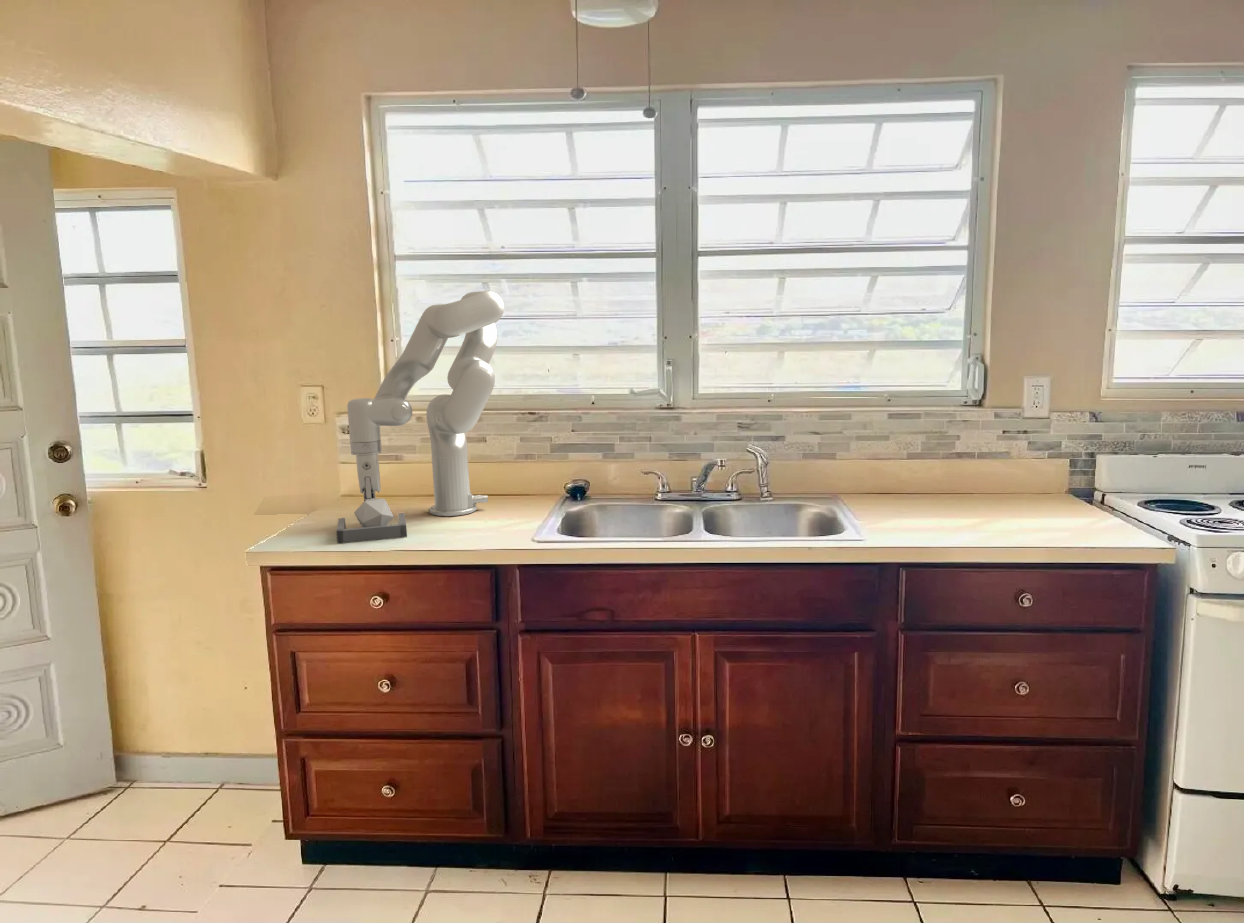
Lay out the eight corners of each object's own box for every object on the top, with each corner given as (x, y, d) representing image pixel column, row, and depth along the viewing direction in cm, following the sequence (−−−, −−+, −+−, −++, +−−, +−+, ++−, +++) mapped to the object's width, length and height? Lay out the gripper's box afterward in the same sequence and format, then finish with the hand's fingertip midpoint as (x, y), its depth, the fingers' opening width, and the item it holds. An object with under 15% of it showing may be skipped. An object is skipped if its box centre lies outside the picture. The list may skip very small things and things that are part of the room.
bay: (405, 524, 215) (404, 512, 214) (407, 536, 202) (406, 524, 202) (339, 530, 210) (338, 518, 210) (337, 543, 198) (336, 531, 198)
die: (400, 528, 213) (388, 495, 216) (390, 520, 204) (377, 486, 207) (370, 542, 212) (358, 509, 215) (358, 534, 204) (346, 499, 207)
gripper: (381, 451, 206) (386, 523, 210) (381, 442, 220) (386, 510, 224) (349, 453, 204) (354, 525, 208) (351, 444, 218) (356, 512, 222)
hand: (371, 517), depth 216 cm, fingers closed
